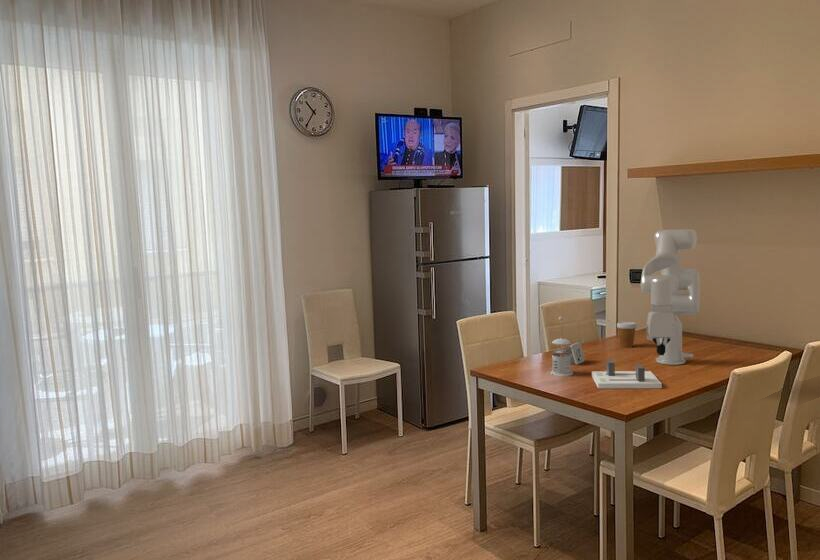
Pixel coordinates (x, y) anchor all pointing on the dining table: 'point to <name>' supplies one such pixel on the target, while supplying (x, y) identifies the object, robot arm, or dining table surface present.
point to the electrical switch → (576, 353)
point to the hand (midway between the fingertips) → (661, 354)
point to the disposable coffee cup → (626, 333)
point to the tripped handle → (640, 373)
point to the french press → (561, 358)
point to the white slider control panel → (623, 378)
